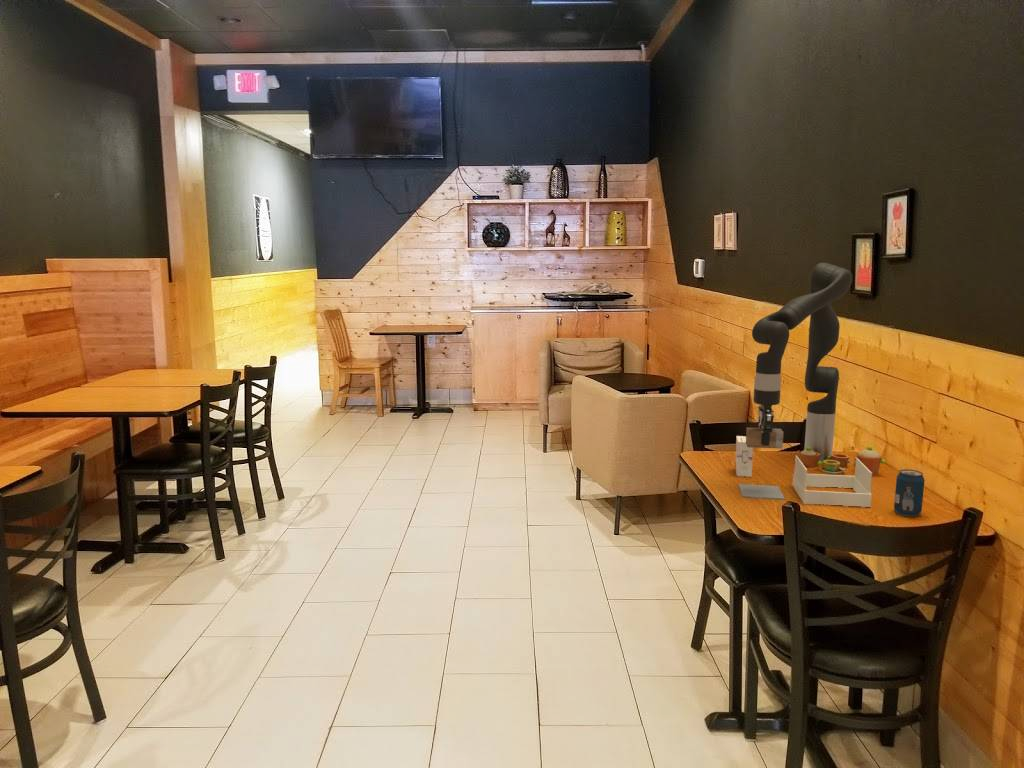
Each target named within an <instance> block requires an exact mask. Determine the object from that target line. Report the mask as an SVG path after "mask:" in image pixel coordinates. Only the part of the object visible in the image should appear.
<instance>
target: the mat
mask: <svg viewBox="0 0 1024 768" xmlns="http://www.w3.org/2000/svg"><path fill="white" fill-rule="evenodd" d="M737 486H738V489H739V491H740V495H741V496H742V498H751V499H752V498H753V499H768V500H785V499H786V498H785V496H784V494H783V492H782V490H781V489H780V487H779V486H778V485H763V484H747V483H746V484H744V483H738V485H737Z"/></svg>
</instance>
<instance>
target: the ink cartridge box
mask: <svg viewBox="0 0 1024 768" xmlns="http://www.w3.org/2000/svg"><path fill="white" fill-rule="evenodd" d="M735 444H736V445H735V462H734V470H735V474H736V477H744V476H745V477H747V478H748V477H750V478H752V476H753V463H754V462H753V459H754V457H753V456H754V447H747V445H746V436H745V435H744V436H743V435H736V440H735Z"/></svg>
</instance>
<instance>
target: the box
mask: <svg viewBox="0 0 1024 768" xmlns="http://www.w3.org/2000/svg"><path fill="white" fill-rule="evenodd" d="M765 429H769V427H768V428H765ZM761 431H762V428H759V427H746V433H745V434H746V445H747V447H753V449H754V448H760V449H761V448H762V449H778V450H779V449H780V450H782V449H783V447H784V446H783V445H784V431H783V429H782V428H772V433H771V434H770V442H769V446H763V445H762V444H761V442H762V432H761Z"/></svg>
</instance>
